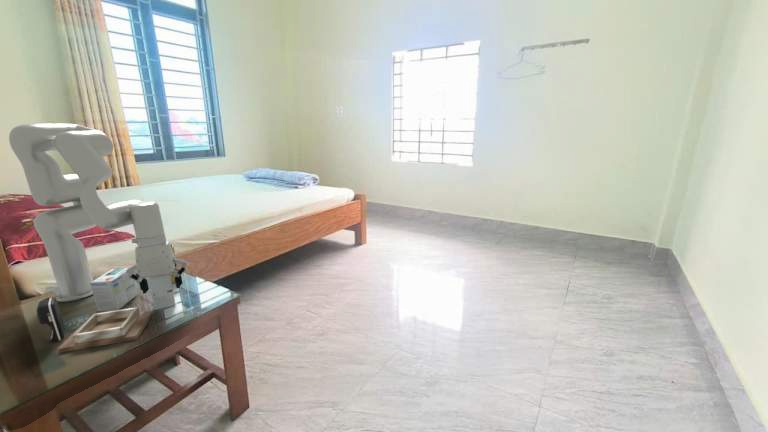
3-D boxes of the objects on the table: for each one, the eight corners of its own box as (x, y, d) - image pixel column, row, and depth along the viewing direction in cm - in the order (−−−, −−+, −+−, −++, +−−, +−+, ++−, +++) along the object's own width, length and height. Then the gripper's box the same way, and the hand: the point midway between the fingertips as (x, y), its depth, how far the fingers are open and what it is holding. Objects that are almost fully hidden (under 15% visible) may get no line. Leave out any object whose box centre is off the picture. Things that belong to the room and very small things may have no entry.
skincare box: (154, 310, 109) (146, 277, 106) (154, 304, 113) (147, 272, 110) (176, 305, 113) (169, 272, 109) (175, 299, 116) (169, 267, 113)
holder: (59, 352, 90) (55, 340, 89) (86, 324, 102) (83, 313, 101) (137, 339, 95) (134, 327, 94) (153, 313, 108) (151, 303, 107)
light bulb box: (118, 296, 119) (111, 268, 117) (138, 294, 120) (131, 267, 117) (96, 312, 109) (88, 282, 106) (118, 310, 110) (110, 280, 107)
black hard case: (48, 334, 98) (37, 299, 95) (66, 329, 100) (55, 294, 97) (45, 345, 93) (33, 309, 90) (64, 340, 95) (53, 304, 92)
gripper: (114, 248, 101) (128, 299, 105) (179, 240, 106) (189, 289, 110) (125, 240, 108) (137, 288, 112) (185, 233, 113) (194, 280, 117)
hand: (162, 289), depth 111 cm, fingers open, 9 cm apart
